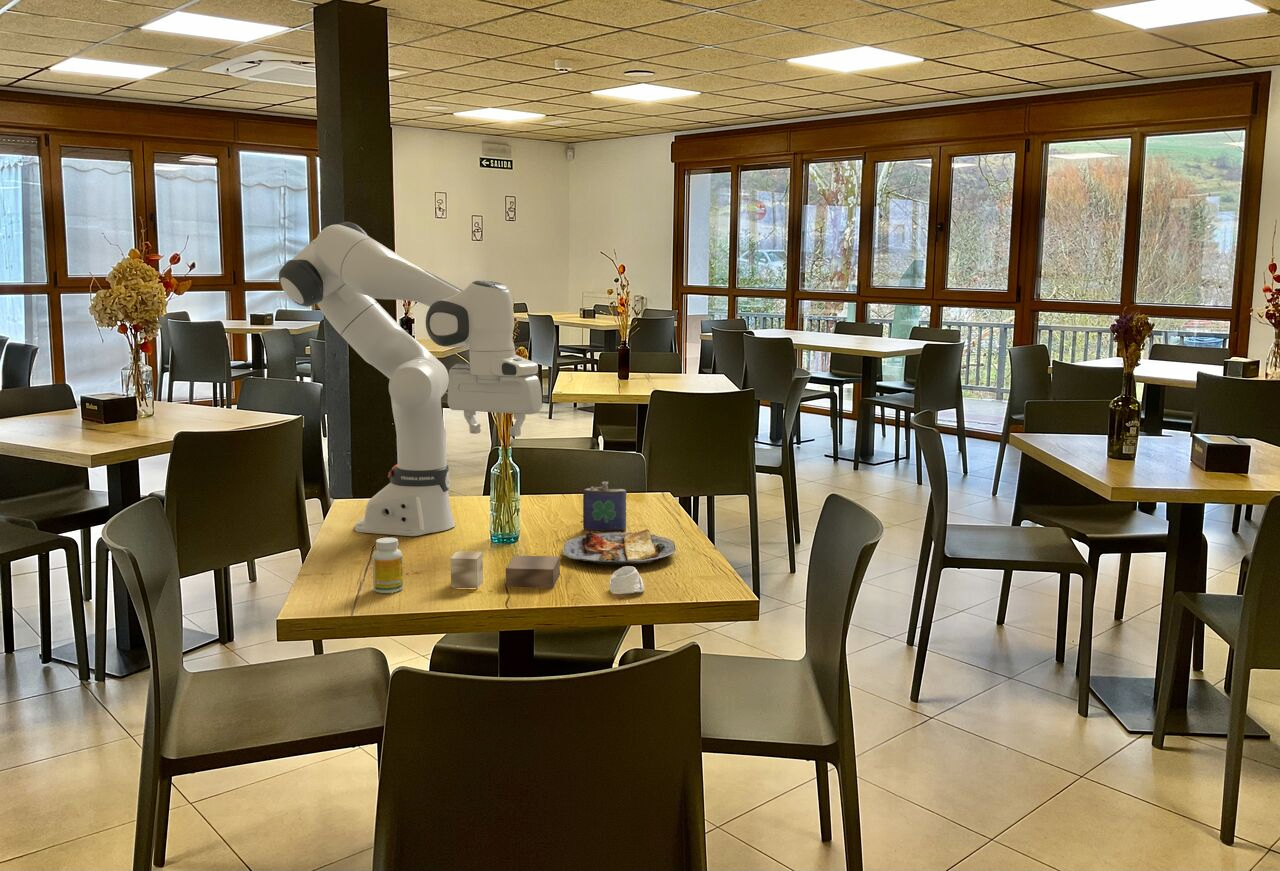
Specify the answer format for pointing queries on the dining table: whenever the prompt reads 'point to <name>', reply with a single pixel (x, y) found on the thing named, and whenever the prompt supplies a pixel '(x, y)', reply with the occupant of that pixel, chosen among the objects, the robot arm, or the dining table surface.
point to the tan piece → (466, 569)
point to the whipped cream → (626, 581)
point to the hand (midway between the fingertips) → (495, 434)
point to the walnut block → (533, 571)
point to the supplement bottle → (387, 566)
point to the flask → (604, 509)
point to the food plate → (619, 547)
